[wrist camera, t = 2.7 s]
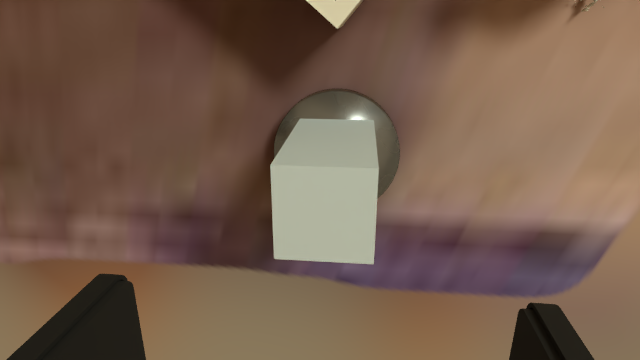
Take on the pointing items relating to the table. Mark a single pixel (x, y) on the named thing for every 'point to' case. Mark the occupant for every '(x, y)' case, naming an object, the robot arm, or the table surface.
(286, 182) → the strut
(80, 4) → the table surface
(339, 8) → the dish
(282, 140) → the grey round domed disc
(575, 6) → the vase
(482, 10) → the table surface
